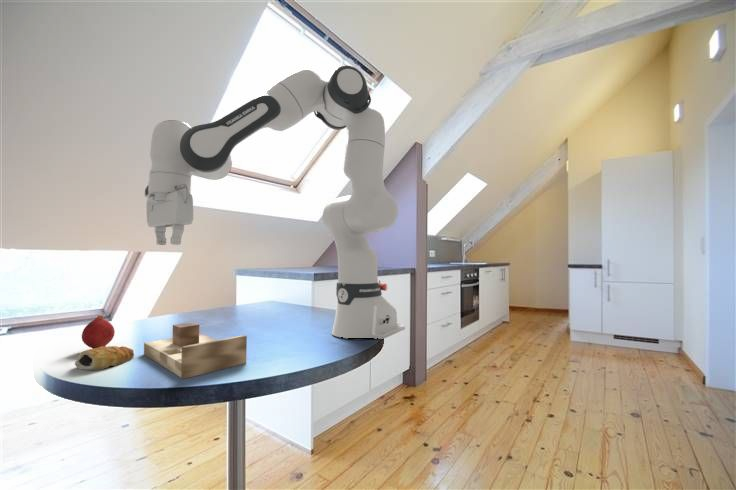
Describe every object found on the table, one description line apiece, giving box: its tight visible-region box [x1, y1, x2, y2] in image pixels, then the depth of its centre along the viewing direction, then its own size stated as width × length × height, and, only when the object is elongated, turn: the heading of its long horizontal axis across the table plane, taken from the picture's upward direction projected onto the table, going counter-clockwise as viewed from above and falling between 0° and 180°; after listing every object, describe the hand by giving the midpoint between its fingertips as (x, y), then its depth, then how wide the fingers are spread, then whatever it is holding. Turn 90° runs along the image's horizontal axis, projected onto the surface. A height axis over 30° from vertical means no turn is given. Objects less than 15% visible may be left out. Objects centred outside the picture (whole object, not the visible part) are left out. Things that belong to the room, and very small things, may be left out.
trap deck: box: [143, 333, 248, 380], centre depth 73 cm, size 12×22×6 cm, turn 48°
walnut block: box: [172, 321, 200, 347], centre depth 75 cm, size 4×4×4 cm
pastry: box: [74, 345, 135, 371], centre depth 70 cm, size 9×7×4 cm
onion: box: [81, 314, 115, 349], centre depth 78 cm, size 6×6×8 cm
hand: (168, 244), depth 84 cm, fingers open, 8 cm apart
